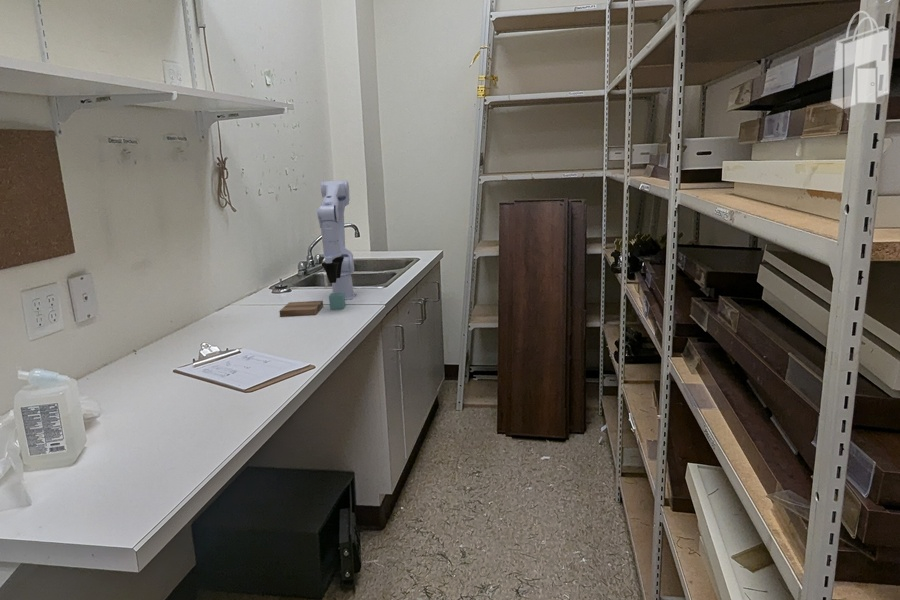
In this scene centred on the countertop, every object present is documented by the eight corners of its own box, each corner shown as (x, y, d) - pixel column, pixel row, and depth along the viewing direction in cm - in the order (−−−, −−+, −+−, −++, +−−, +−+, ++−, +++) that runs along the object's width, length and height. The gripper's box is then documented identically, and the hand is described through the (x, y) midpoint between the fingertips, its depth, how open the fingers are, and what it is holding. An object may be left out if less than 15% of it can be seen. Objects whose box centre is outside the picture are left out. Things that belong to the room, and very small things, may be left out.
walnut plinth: (289, 307, 204) (289, 302, 203) (323, 306, 204) (322, 300, 203) (280, 316, 192) (279, 311, 192) (315, 314, 192) (315, 309, 192)
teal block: (332, 307, 202) (331, 293, 201) (345, 306, 202) (344, 292, 201) (330, 310, 198) (328, 296, 197) (343, 309, 198) (341, 295, 197)
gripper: (323, 238, 201) (327, 276, 205) (314, 244, 187) (318, 285, 190) (343, 237, 201) (347, 275, 205) (335, 243, 187) (340, 284, 190)
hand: (335, 280), depth 198 cm, fingers open, 7 cm apart
